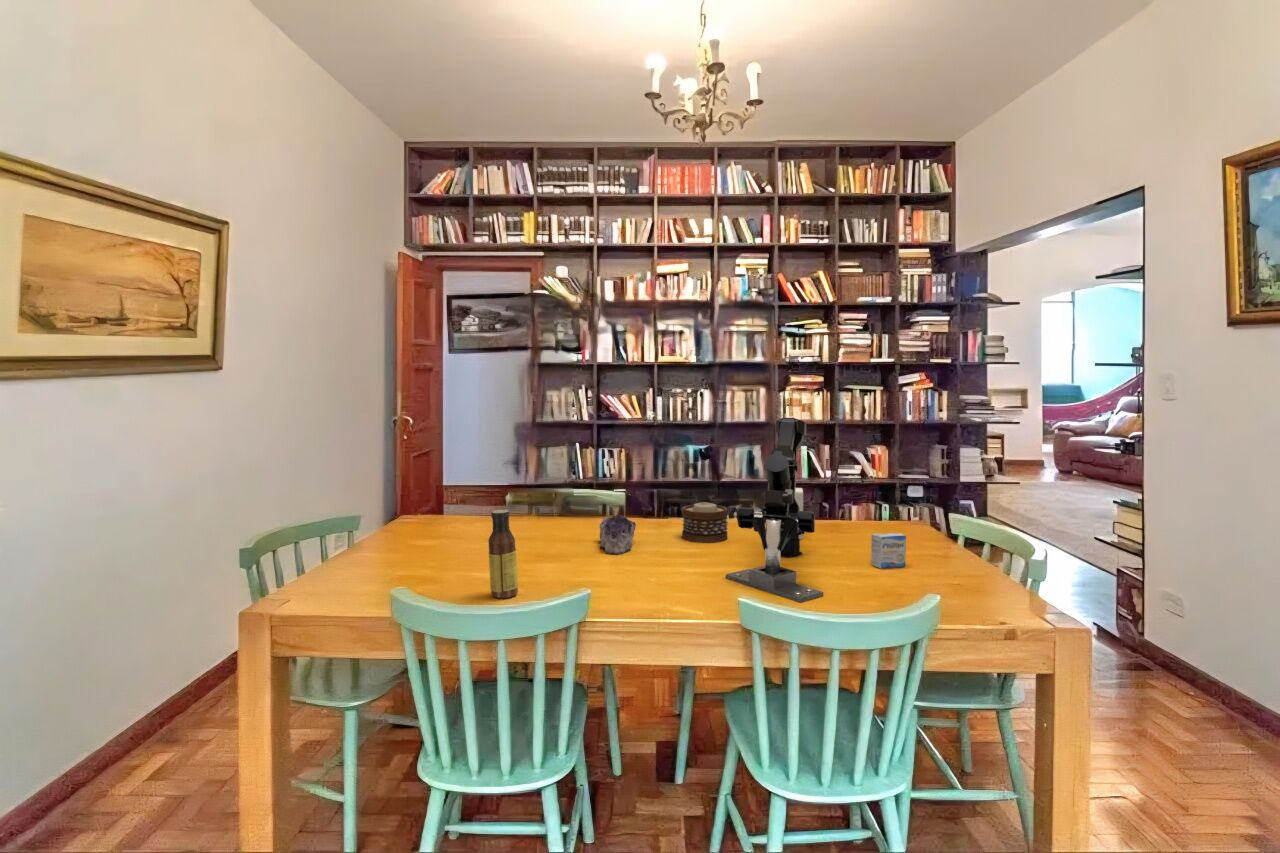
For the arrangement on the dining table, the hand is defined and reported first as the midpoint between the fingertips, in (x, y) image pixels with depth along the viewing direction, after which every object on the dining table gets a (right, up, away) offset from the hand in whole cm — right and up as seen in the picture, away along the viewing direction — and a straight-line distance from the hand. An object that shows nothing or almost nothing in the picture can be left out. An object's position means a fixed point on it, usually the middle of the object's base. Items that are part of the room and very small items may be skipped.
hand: (772, 549), depth 169 cm
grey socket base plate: (0, -9, +2) cm, 10 cm away
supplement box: (+16, -6, +56) cm, 59 cm away
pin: (0, -7, +2) cm, 7 cm away
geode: (-38, -7, +42) cm, 57 cm away
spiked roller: (-11, -6, +53) cm, 55 cm away
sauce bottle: (-63, -10, -5) cm, 64 cm away
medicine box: (+35, -8, +21) cm, 42 cm away
